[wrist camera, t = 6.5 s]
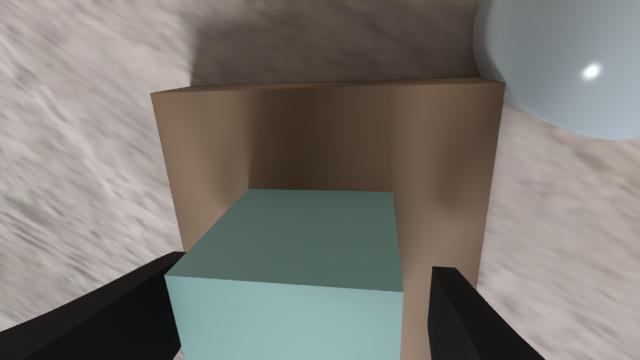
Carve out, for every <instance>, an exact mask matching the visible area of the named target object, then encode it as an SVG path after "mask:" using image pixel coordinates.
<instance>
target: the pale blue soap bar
mask: <svg viewBox="0 0 640 360" xmlns="http://www.w3.org/2000/svg"><path fill="white" fill-rule="evenodd" d="M472 43H473V54H474V58H475V62H476V66H477V69H478V71H479V74H480V76H481V77H482V78H487V79H492V80H496V81H501V82H505V83H506V85H505V92H504V99H503V103H505V104H506V105H508V106H509V107H511V108H514V109H516V110H518V111H520V112H522V113H525V114H527V115H530V116H532V117H535V118H537V119H540V120H542V121H545V122H547V123H550V124H552V125H555V126H557V127H560V128H562V129H565V130H567V131H570V132H573V133H576V134H579V135H582V136H586V137H592V138H597V139H608V140H627V139H638V138H640V0H480V1H479V4H478V8H477V11H476V14H475V19H474V25H473V38H472Z"/></svg>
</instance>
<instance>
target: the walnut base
mask: <svg viewBox="0 0 640 360" xmlns="http://www.w3.org/2000/svg"><path fill="white" fill-rule="evenodd" d="M505 85H506V83H505V82H501V81H496V80H492V79H487V78H482V77H468V78H437V79H406V80H376V81H345V82H314V83H284V84H253V85H223V86H192V87H184V88H178V89H172V90H166V91H160V92H154V93H150V94H151V99H152V104H153V108H154V113H155V118H156V122H157V127H158V132H159V136H160V141H161V146H162V151H163V155H164V160H165V165H166V169H167V174H168V179H169V183H170V188H171V193H172V198H173V202H174V207H175V212H176V216H177V221H178V226H179V230H180V235H181V240H182V245H183V249H184V252H188V251H189V249H190V248H191V247H192V246H193V245H194V244H195V243H196V242H197V241H198V240H199V239H200V238H201V237H202V236H203V235H204V234H205V233H206V232H207V231H208V230H209V229H210V228H211V227H212V226H213V225H214V224H215V223H216V222H217V221H218V220H219V218H220V217H221V216H222V215H223V214H224V213H225V212H226V211H227V210H228V209H229V208H230V207H231V206H232V205H233V204H234V203H235V202H236V201H237V200H238V199H239V198H240V197H241V196H242V195H243V194H244V193H245V192H246V191H247V190H248V189H279V190H325V191H371V192H393V199H394V208H395V217H396V227H397V236H398V245H399V255H400V264H401V273H402V282H403V292H404V293H403V312H402V331H401V349H400V360H431V353H430V345H429V336H428V328H427V321H428V310H429V298H430V287H431V275H432V266H438V267H456V268H457V269H458V271H459V272H460V273H461V274H462V275H463V276H464V277H465V278H466V279H467V281H468V282H469V283H470V284H471V285H472V286H473V287H474V288H475V290H476V285H477V279H478V272H479V265H480V258H481V251H482V244H483V237H484V230H485V223H486V216H487V210H488V203H489V196H490V189H491V182H492V175H493V168H494V161H495V154H496V147H497V141H498V134H499V127H500V120H501V113H502V106H503V99H504V92H505Z"/></svg>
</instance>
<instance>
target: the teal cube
mask: <svg viewBox="0 0 640 360" xmlns="http://www.w3.org/2000/svg"><path fill="white" fill-rule="evenodd" d="M164 276H165V280H166V284H167V288H168V293H169V297H170V301H171V305H172V309H173V313H174V317H175V321H176V325H177V329H178V334H179V338H180V342H181V346H182V350H183V354H184V358H185V360H400V349H401V331H402V312H403V293H404V292H403V282H402V273H401V264H400V255H399V245H398V236H397V227H396V217H395V208H394V199H393V192H371V191H325V190H279V189H248V190H247V191H246V192H245V193H244V194H243V195H242V196H241V197H240V198H239V199H238V200H237V201H236V202H235V203H234V204H233V205H232V206H231V207H230V208H229V209H228V210H227V211H226V212H225V213H224V214H223V215H222V216H221V217H220V218H219V220H218V221H217V222H216V223H215V224H214V225H213V226H212V227H211V228H210V229H209V230H208V231H207V232H206V233H205V234H204V235H203V236H202V237H201V238H200V239H199V240H198V241H197V242H196V243H195V244H194V245H193V246H192V247H191V248H190V249H189V251H188V252H187V253H186V254H185V255H184V256H183V257H182V258H181V259H180V260H179V261H178V262H177V263H176V264H175V265H174V266H173V267H172V268H171V269H170V270H169V271H168V272H167V273H166V274H165V275H164Z"/></svg>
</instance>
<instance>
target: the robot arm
mask: <svg viewBox="0 0 640 360" xmlns="http://www.w3.org/2000/svg"><path fill="white" fill-rule="evenodd" d="M186 253H187V252H175V251H174V252H171V253H169V254H166V255H164V256H162V257H160V258H158V259H155V260H153V261H151V262H149V263H147V264H145V265H143V266H141V267H139V268H137V269H135V270H134V271H132V272H130V273H128V274H126V275H124V276H122V277H120V278H118V279H116V280H114V281H112V282H110V283H108V284H106V285H104V286H102V287H100V288H98V289H96V290H94V291H92V292H90V293H88V294H86V295H84V296H81V297H79V298H77V299H75V300H73V301H71V302H69V303H67V304H65V305H63V306H61V307H58V308H56V309H54V310H52V311H50V312H47V313H45V314H43V315H40V316H38V317H36V318H33V319H31V320H29V321H26V322H24V323H21V324H19V325H16V326H14V327H11V328H9V329H6V330H4V331H1V332H0V360H173V359H174V357H175V356H176V354H177V352H178V351H179V349H180V348H181V342H180V338H179V334H178V329H177V325H176V321H175V317H174V313H173V309H172V305H171V301H170V297H169V293H168V288H167V284H166V280H165V276H164V275H165V274H166V273H167V272H168V271H169V270H170V269H171V268H172V267H173V266H174V265H175V264H176V263H177V262H178V261H179V260H180V259H181V258H182V257H183V256H184V255H185V254H186ZM427 328H428V336H429V345H430V353H431V360H545V359H544V358H543V357H542V356H541V355H540V354H539V353H538V352H537V351H536V350H534V349H533V348H532V347H531V346H530V345H529V344H528V343H527V342H526V341H525V340H524V339H523V338H522V337H520V336H519V335H518V334H517V333H516V332H515V331H514V330H513V329H512V328H511V327H510V326H509V325H508V324H507V323H506V322H505V320H504V319H503V318H502V317H501V316H500V315H499V314H498V313H497V312H496V311H495V310H494V309H493V308H492V307H491V306H490V305H489V304H488V303H487V302H486V301H485V299H484V298H483V297H482V296H481V295H480V294H479V293H478V292H477V291H476V290H475V288H474V287H473V286H472V285H471V284H470V283H469V282H468V281H467V279H466V278H465V277H464V276H463V275H462V274H461V273H460V272H459V271H458V269H457V268H456V267H438V266H432V275H431V287H430V298H429V310H428V321H427Z"/></svg>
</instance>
